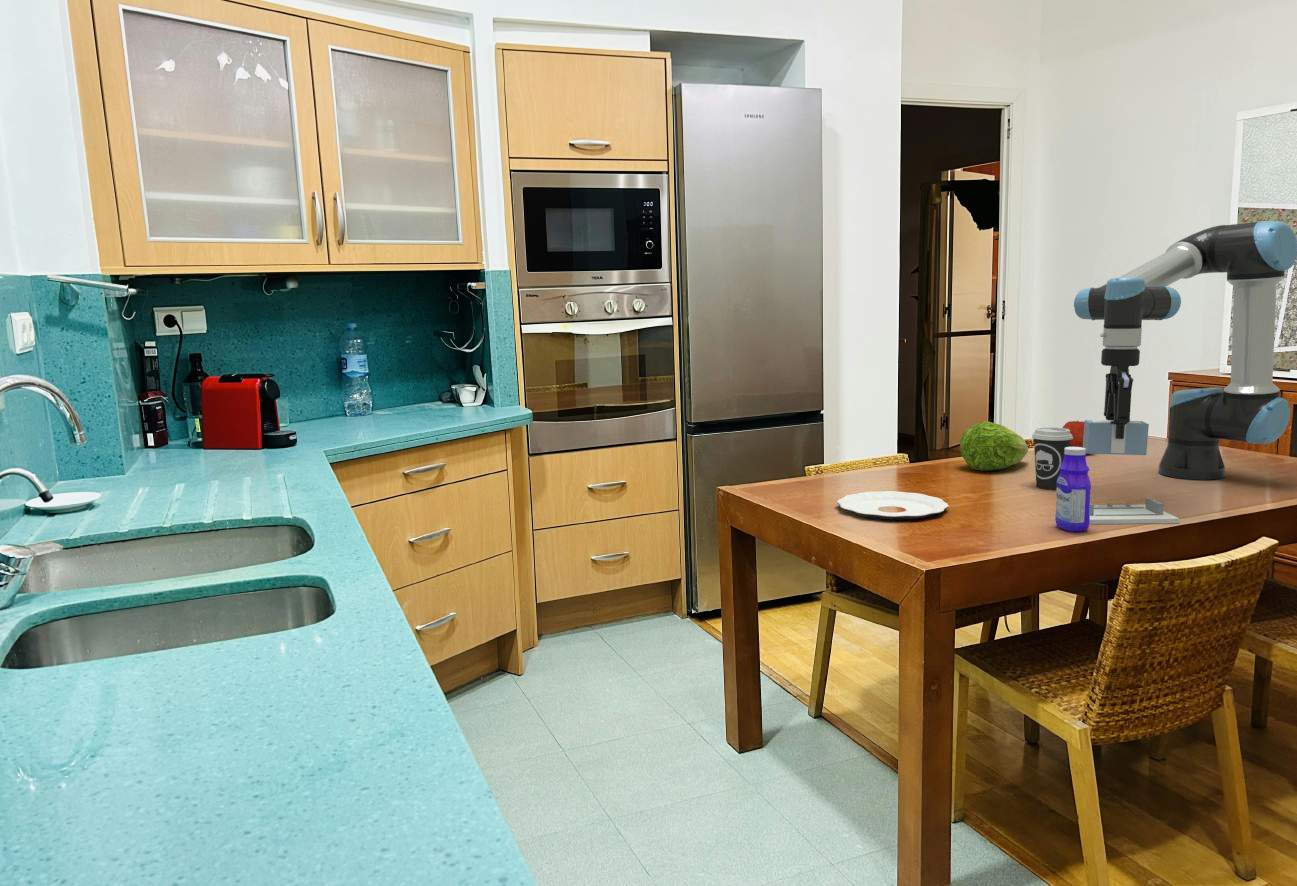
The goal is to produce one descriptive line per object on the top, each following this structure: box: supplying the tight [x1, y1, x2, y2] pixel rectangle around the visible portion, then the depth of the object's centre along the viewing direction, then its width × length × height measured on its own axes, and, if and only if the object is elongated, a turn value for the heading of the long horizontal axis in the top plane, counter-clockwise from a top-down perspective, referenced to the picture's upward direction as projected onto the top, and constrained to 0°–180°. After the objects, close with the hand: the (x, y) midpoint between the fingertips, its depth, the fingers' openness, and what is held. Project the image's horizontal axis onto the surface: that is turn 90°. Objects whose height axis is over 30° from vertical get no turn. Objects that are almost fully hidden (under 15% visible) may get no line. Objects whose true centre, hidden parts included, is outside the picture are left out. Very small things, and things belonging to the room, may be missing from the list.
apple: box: [1062, 419, 1087, 455], centre depth 269 cm, size 10×10×10 cm
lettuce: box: [959, 421, 1029, 472], centre depth 252 cm, size 14×24×15 cm
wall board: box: [1089, 497, 1180, 525], centre depth 195 cm, size 19×13×3 cm
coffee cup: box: [1031, 426, 1073, 491], centre depth 225 cm, size 10×10×15 cm
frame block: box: [1083, 419, 1150, 456], centre depth 198 cm, size 12×5×7 cm, turn 75°
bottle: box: [1054, 447, 1092, 532], centre depth 185 cm, size 7×6×17 cm
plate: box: [836, 490, 950, 521], centre depth 208 cm, size 25×25×2 cm
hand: (1114, 450), depth 199 cm, fingers closed on frame block, 5 cm apart
